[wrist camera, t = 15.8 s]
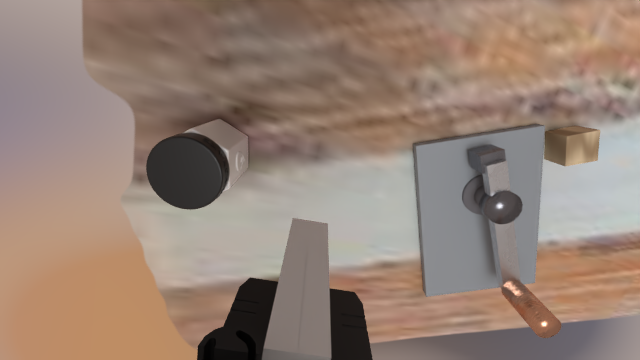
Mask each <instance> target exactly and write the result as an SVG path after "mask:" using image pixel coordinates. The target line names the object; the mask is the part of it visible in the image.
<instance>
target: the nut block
mask: <svg viewBox="0 0 640 360" xmlns="http://www.w3.org/2000/svg"><path fill="white" fill-rule="evenodd" d="M599 137H600V130H597V129H591V128H585V127H579V126H571V127H566V128H561V129H555V130H550V131H545V151H544V159H546V160H549V161H551V162H554V163H557V164H560V165H563V166H570V165H575V164H581V163H586V162H592V161H597V160H598V149H599Z"/></svg>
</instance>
